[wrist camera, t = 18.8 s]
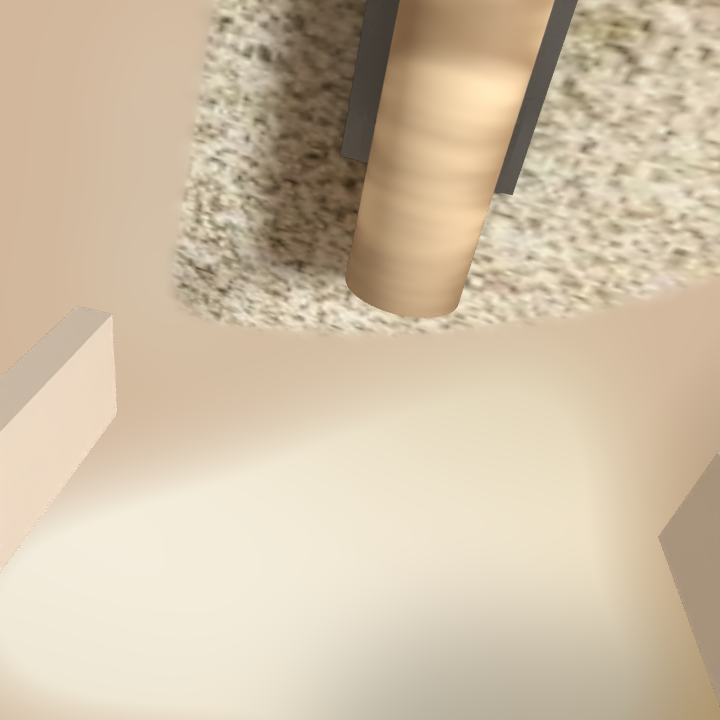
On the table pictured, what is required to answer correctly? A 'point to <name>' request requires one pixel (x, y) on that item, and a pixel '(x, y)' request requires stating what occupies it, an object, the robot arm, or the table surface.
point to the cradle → (373, 72)
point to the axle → (440, 147)
